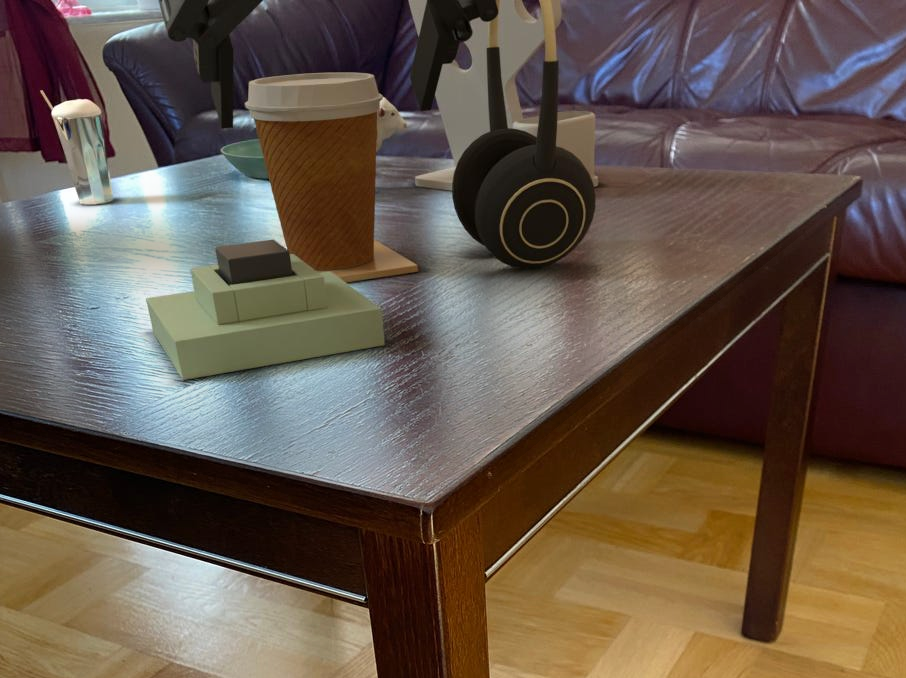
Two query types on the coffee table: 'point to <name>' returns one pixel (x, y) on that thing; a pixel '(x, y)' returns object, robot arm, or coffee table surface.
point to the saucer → (247, 158)
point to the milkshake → (84, 148)
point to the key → (253, 262)
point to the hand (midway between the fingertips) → (323, 102)
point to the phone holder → (468, 89)
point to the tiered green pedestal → (262, 321)
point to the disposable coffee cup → (321, 162)
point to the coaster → (376, 266)
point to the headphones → (523, 175)
